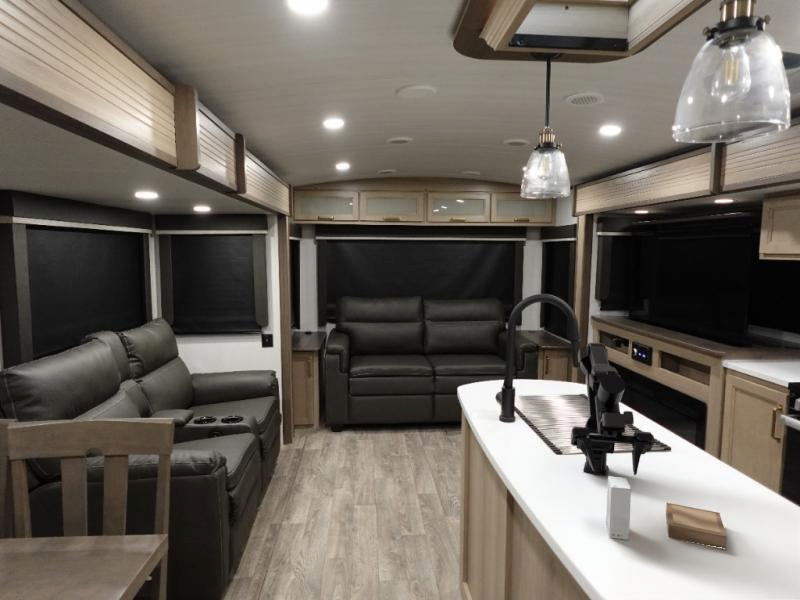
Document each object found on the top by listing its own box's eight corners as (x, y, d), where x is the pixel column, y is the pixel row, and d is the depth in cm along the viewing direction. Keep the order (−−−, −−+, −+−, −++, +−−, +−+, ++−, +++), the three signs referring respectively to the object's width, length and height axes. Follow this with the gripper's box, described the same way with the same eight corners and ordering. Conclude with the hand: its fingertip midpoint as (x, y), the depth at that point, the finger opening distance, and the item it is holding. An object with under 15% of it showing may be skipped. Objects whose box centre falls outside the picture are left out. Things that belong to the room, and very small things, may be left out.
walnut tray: (665, 514, 121) (666, 502, 121) (718, 524, 116) (719, 512, 116) (668, 537, 111) (669, 524, 111) (726, 549, 106) (726, 536, 106)
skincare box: (629, 540, 110) (631, 489, 109) (609, 537, 111) (610, 487, 110) (625, 526, 116) (626, 477, 115) (605, 523, 117) (607, 475, 116)
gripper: (573, 395, 124) (576, 455, 114) (654, 400, 119) (665, 462, 109) (569, 416, 132) (572, 473, 122) (645, 421, 127) (654, 481, 118)
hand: (614, 472), depth 118 cm, fingers open, 9 cm apart
